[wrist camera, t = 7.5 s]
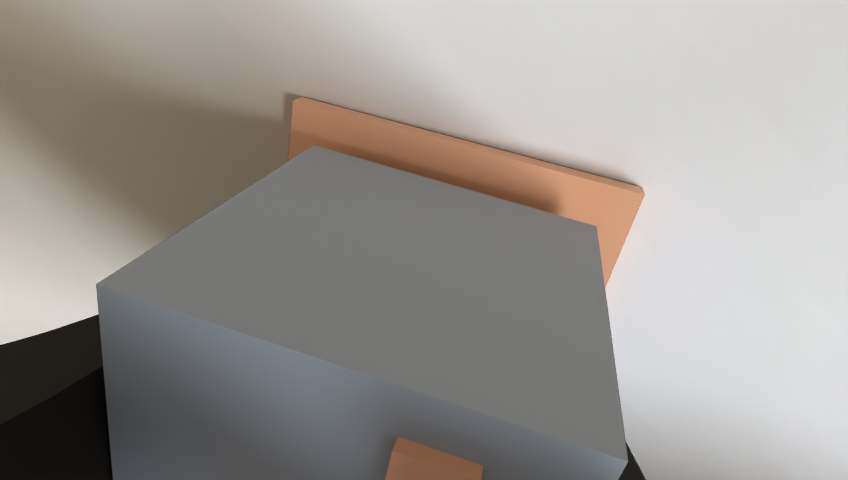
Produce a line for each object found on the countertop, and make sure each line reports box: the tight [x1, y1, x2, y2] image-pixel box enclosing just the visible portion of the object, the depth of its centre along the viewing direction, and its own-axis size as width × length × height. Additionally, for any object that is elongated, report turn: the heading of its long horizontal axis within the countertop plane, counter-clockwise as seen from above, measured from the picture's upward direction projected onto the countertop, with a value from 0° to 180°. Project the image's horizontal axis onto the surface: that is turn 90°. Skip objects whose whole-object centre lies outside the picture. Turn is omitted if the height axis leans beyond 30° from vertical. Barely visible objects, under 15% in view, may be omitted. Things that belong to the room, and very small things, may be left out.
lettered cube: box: [96, 145, 628, 480], centre depth 9 cm, size 6×6×6 cm
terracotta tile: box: [288, 97, 645, 287], centre depth 12 cm, size 7×7×1 cm
